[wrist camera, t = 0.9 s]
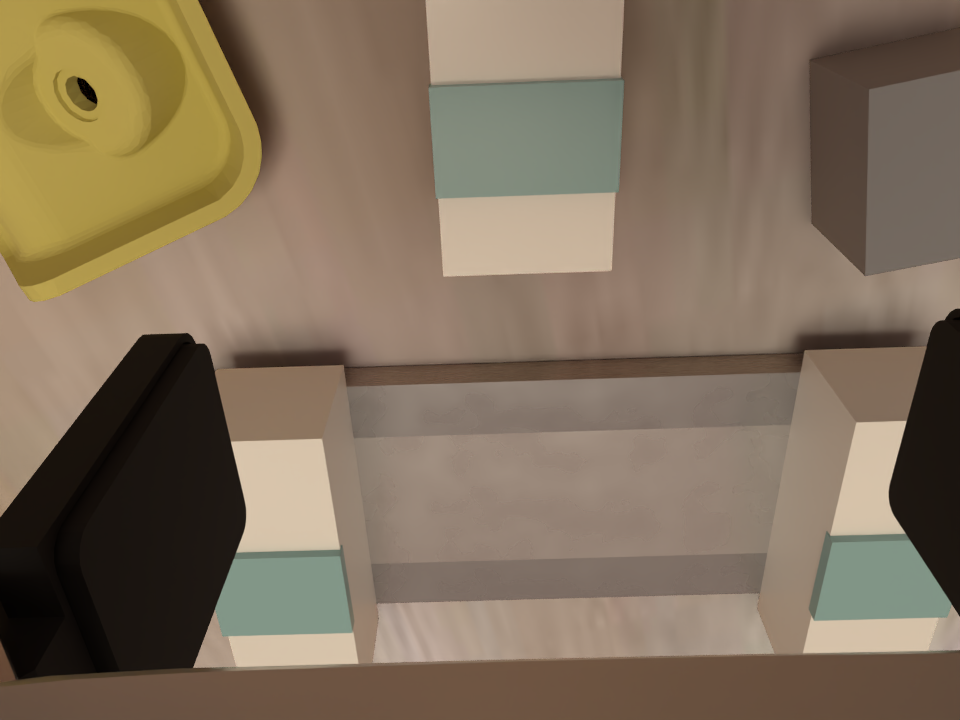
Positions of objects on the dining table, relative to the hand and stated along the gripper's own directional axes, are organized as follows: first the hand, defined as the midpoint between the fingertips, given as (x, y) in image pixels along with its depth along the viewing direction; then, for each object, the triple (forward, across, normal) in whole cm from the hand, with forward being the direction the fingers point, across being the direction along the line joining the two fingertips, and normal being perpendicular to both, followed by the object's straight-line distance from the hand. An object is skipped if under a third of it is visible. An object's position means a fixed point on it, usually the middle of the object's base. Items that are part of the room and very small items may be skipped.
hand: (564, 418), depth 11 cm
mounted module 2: (+19, -14, +17) cm, 29 cm away
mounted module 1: (+19, +9, +17) cm, 27 cm away
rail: (+20, -2, +17) cm, 26 cm away
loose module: (+20, 0, 0) cm, 20 cm away
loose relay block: (+20, -13, +2) cm, 24 cm away
